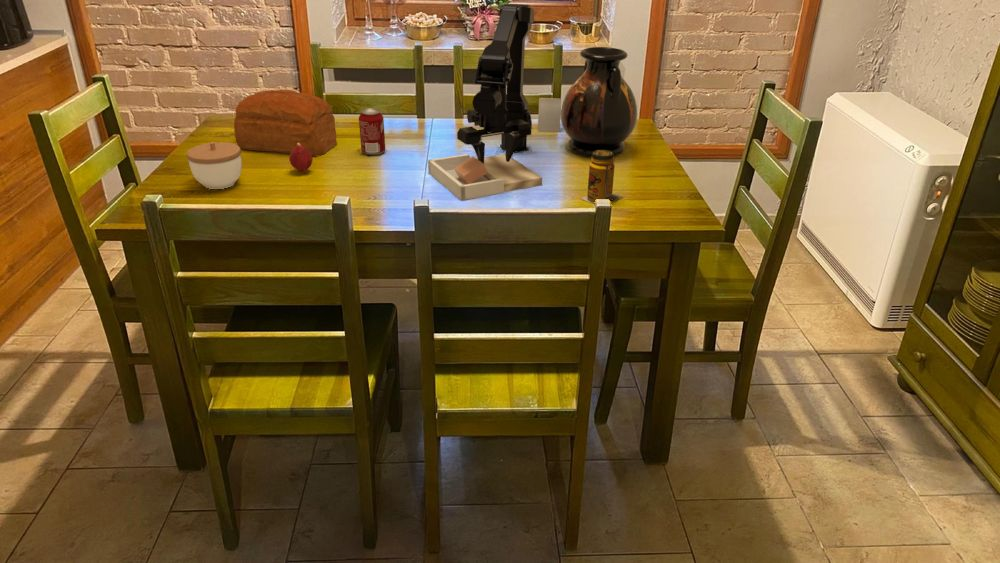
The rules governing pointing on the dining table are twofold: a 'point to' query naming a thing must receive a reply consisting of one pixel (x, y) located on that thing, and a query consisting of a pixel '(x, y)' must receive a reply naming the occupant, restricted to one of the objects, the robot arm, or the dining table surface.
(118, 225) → the dining table surface
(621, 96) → the amphora vase
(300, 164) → the onion
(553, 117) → the grey rectangular box
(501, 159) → the wooden board
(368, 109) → the soda can
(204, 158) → the lidded bowl
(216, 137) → the dining table surface
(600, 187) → the condiment
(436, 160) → the box
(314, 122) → the bread
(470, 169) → the block
